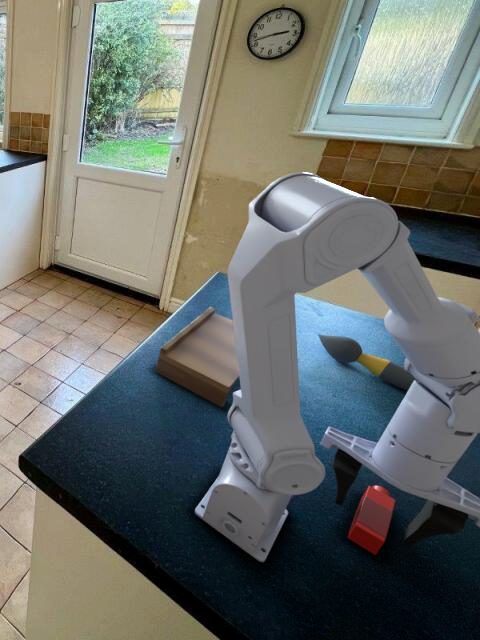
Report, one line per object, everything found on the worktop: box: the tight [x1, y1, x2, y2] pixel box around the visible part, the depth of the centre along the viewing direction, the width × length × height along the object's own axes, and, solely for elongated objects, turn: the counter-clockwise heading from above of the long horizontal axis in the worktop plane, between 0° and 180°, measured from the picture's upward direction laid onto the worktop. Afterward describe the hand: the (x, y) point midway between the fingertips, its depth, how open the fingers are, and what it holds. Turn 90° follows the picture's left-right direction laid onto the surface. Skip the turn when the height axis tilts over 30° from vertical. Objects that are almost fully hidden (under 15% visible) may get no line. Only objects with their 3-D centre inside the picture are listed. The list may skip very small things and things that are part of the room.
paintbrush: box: [317, 333, 418, 392], centre depth 77 cm, size 20×5×5 cm, turn 38°
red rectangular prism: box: [347, 484, 396, 556], centre depth 53 cm, size 10×3×3 cm, turn 130°
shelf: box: [154, 306, 240, 408], centre depth 80 cm, size 22×12×6 cm, turn 130°
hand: (372, 518), depth 52 cm, fingers open, 6 cm apart
